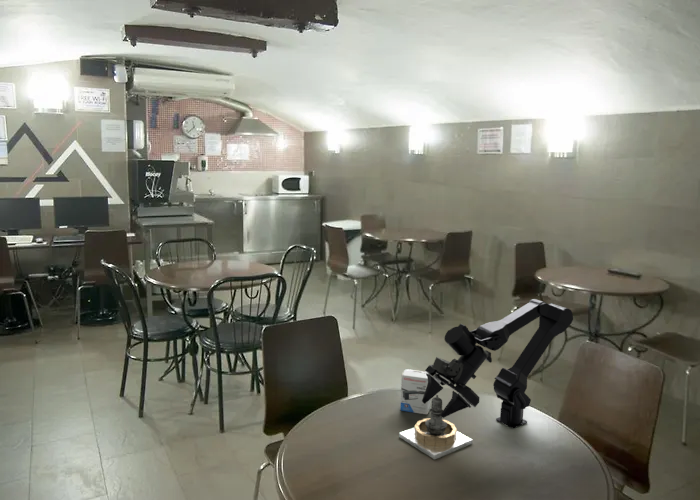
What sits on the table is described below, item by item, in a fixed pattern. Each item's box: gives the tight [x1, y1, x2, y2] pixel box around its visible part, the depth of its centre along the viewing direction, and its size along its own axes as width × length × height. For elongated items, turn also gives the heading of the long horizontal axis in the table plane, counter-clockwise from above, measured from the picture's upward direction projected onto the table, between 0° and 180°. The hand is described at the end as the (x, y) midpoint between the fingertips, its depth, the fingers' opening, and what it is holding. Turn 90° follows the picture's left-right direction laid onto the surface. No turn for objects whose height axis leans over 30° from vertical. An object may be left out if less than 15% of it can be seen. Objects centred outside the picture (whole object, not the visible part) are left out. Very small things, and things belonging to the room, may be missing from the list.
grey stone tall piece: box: [425, 394, 447, 436], centre depth 149 cm, size 6×6×12 cm
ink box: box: [399, 368, 431, 415], centre depth 168 cm, size 8×5×12 cm, turn 72°
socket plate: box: [398, 417, 473, 460], centre depth 150 cm, size 14×14×4 cm
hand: (432, 409), depth 148 cm, fingers open, 9 cm apart
